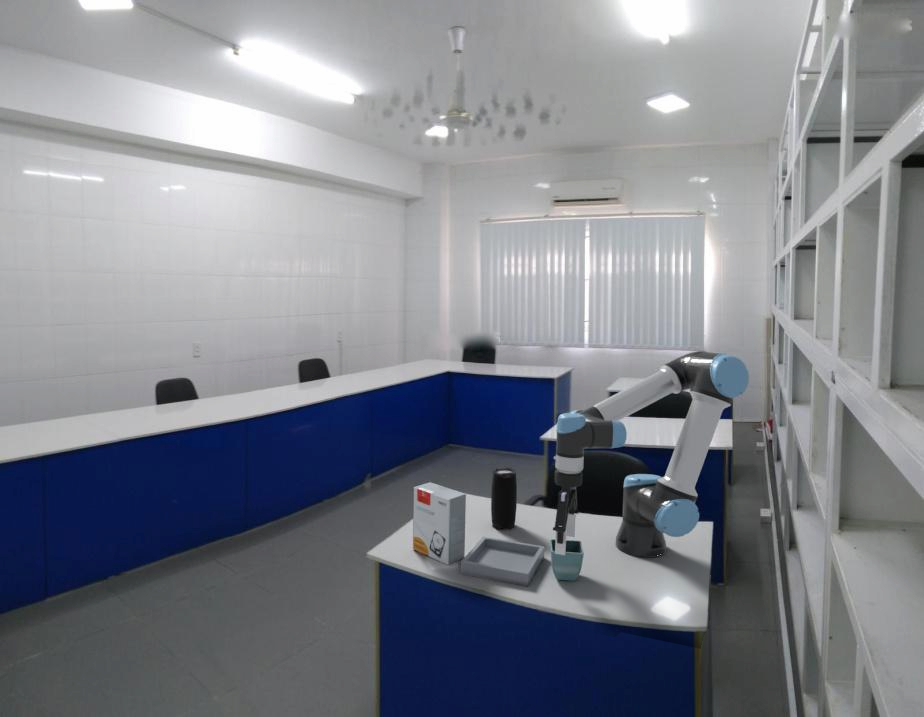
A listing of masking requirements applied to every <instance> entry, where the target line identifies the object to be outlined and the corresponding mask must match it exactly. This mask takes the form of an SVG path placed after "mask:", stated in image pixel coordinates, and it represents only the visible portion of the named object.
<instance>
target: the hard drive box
mask: <svg viewBox="0 0 924 717" xmlns="http://www.w3.org/2000/svg"><path fill="white" fill-rule="evenodd" d="M466 502H467V494H466V493H463V492H461V491H458V490H456V489H452V488H449V487H445V486H443V485H440V484H436V483H433V482H431V481H430V482H426V483H423V484H420V485H416V486H414V487H413V506H412V507H413V509H412V510H413V511H412V514H413V515H412V520H413V521H412V527H413V528H412V550H414V551H416V552H418V553H419V554H423V555H426V556H428V557H430V558H431V559H434V560H436V561H437V560H438V561H437V562H439V561H440V563H442V564H445V565H448V566H449V565H451V564H453V563H455V562H458V561H460V560H463V559H464V558H465V557H466V556H465V552H466V550H465V549H466V548H465V547H466V544H465V543H466V510H467V509H466V506H467V505H466V504H467V503H466Z"/></svg>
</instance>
